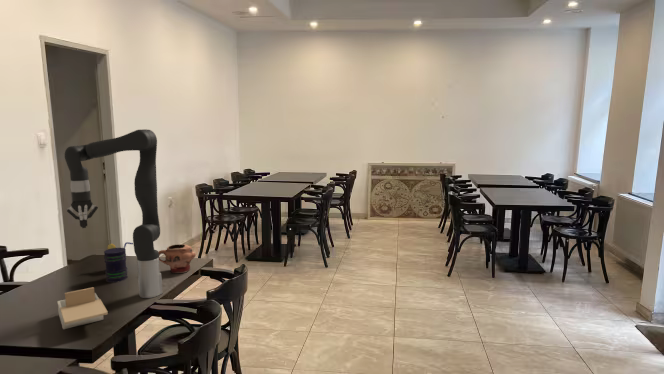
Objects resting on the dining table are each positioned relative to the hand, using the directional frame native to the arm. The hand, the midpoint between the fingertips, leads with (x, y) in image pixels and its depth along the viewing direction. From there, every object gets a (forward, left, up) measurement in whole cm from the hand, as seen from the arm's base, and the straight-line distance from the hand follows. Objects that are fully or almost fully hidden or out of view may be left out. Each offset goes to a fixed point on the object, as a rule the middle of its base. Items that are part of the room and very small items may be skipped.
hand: (83, 227), depth 198 cm
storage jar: (-14, -12, -31) cm, 36 cm away
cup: (-19, -27, -31) cm, 45 cm away
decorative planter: (-42, -5, -31) cm, 53 cm away
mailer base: (+7, +28, -31) cm, 42 cm away
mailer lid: (+7, +39, -25) cm, 47 cm away
